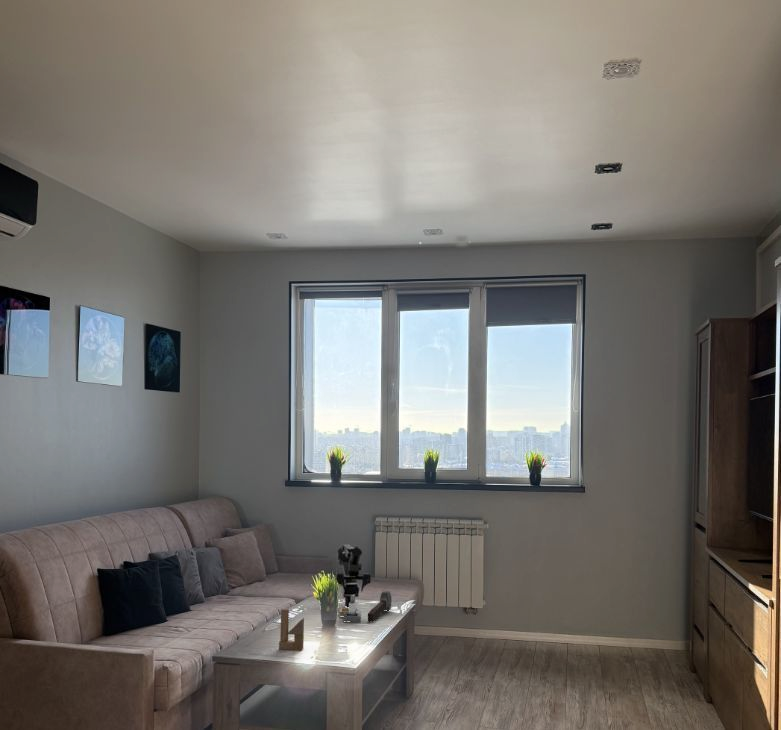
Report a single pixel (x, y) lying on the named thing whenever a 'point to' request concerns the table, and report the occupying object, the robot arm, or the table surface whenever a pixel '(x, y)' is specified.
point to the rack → (343, 611)
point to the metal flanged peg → (352, 606)
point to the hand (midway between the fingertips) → (353, 591)
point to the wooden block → (296, 631)
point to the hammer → (381, 606)
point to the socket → (352, 617)
